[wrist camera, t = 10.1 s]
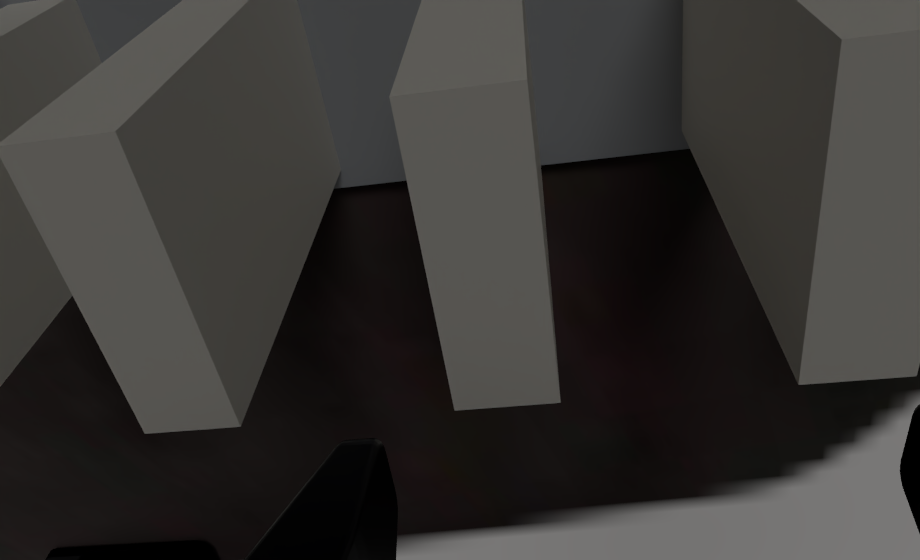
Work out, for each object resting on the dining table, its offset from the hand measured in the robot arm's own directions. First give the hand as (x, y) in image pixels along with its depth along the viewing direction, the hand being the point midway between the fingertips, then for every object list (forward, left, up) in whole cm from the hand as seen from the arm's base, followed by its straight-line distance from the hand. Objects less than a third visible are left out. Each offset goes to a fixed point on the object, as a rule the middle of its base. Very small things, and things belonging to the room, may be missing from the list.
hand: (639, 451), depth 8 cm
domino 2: (0, +7, -12) cm, 14 cm away
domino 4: (0, -3, -12) cm, 13 cm away
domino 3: (0, +2, -12) cm, 12 cm away
